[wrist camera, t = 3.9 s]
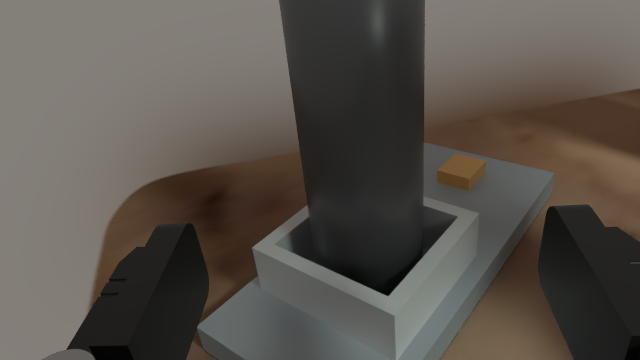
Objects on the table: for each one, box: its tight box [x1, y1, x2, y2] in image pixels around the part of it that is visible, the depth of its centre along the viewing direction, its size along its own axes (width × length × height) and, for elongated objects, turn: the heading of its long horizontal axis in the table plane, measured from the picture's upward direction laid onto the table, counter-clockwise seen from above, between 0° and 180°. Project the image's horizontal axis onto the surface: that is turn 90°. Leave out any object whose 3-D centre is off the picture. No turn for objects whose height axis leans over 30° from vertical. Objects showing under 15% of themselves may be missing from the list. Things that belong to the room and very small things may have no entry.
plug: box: [279, 0, 425, 296], centre depth 19 cm, size 5×5×18 cm
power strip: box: [197, 142, 555, 360], centre depth 25 cm, size 20×9×4 cm, turn 141°
